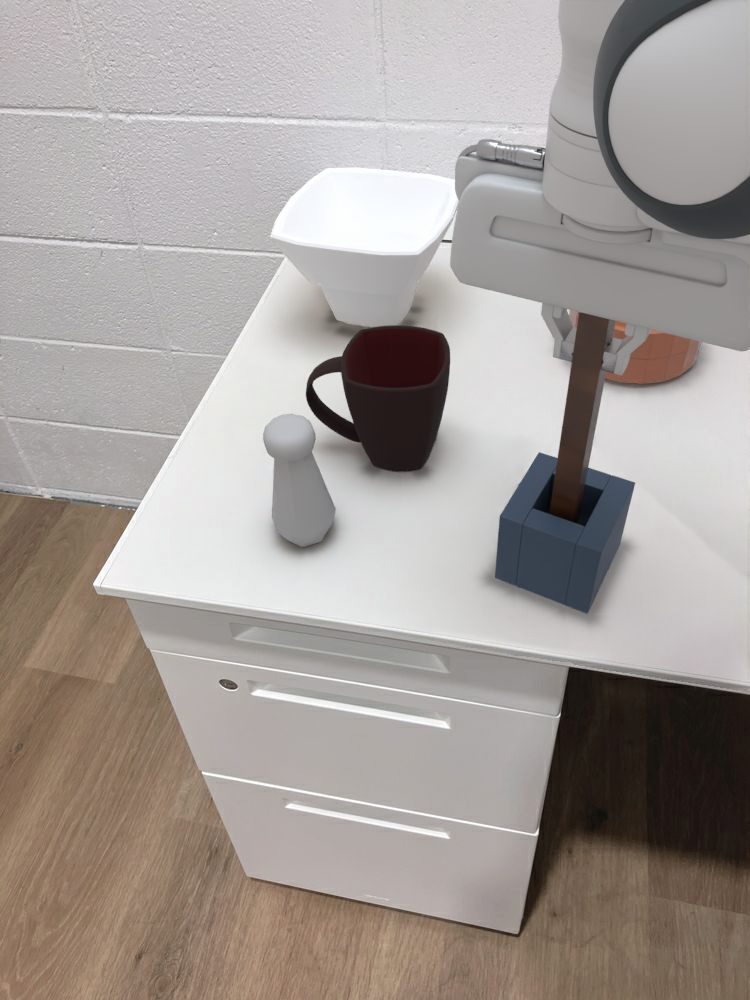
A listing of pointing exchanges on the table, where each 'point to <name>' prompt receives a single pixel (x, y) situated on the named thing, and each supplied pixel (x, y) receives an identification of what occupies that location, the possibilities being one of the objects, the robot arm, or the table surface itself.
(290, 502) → the salt shaker
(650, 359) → the terracotta round dish
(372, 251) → the bowl
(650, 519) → the table surface
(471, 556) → the table surface
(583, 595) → the box
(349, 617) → the table surface
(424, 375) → the mug
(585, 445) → the stirring stick
